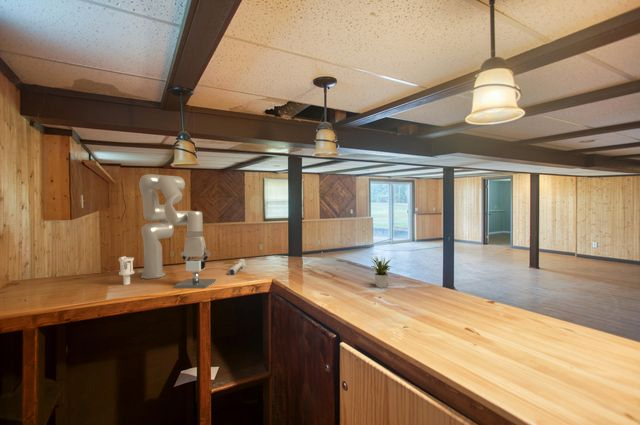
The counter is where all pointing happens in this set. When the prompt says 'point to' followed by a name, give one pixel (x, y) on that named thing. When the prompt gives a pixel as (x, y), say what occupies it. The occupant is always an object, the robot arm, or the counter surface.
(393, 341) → the counter surface
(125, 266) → the white upright piece
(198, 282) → the grey plate with knob
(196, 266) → the collar
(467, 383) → the counter surface
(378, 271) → the house plant
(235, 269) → the white flashlight
